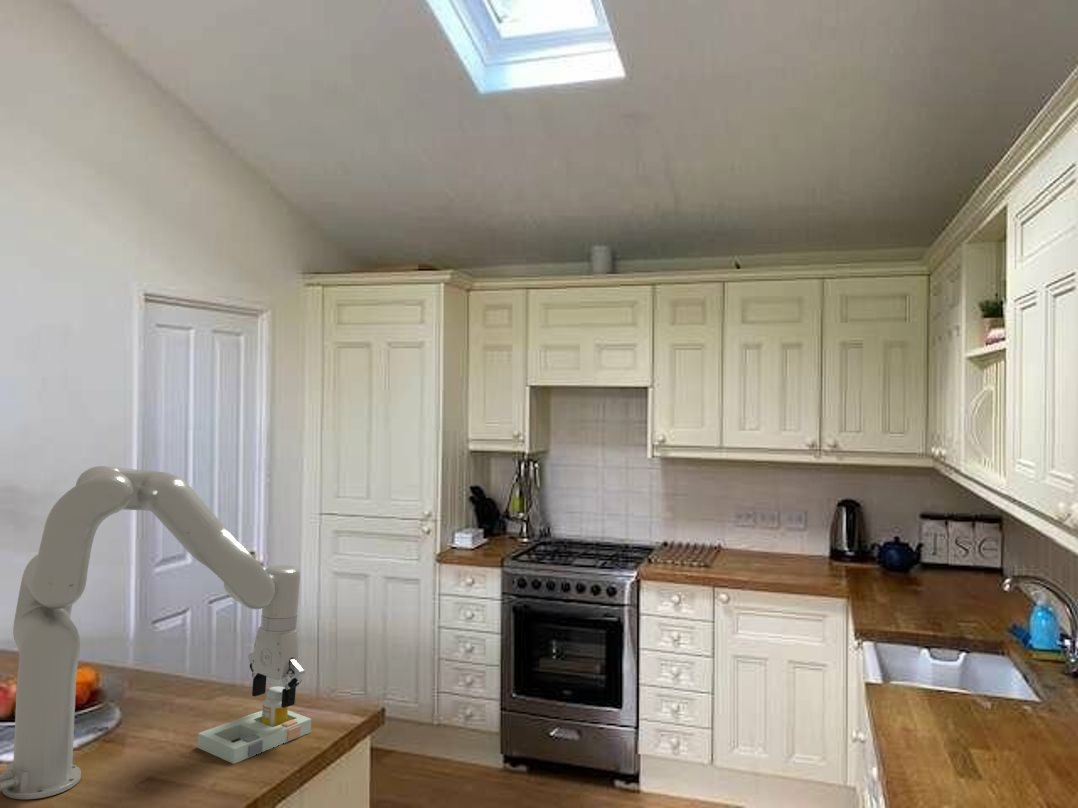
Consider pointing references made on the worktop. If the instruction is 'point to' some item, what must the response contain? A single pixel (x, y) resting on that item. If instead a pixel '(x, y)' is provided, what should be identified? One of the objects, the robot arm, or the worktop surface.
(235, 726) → the socket board
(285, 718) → the supplement bottle
